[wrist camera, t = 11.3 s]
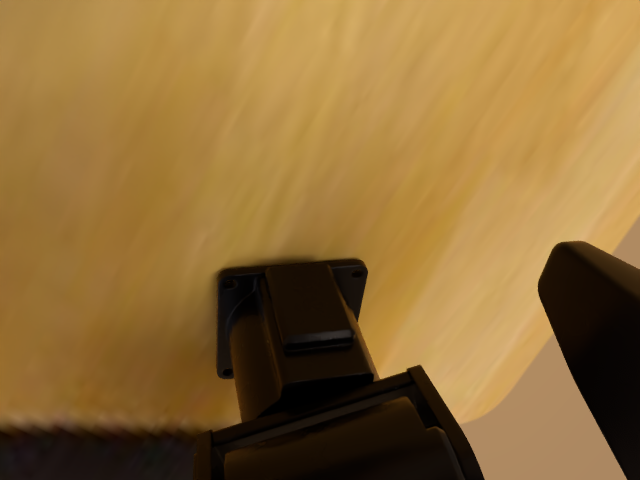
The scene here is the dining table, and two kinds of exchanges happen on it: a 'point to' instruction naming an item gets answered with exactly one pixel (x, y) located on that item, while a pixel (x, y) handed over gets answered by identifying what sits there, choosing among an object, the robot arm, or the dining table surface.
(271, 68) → the dining table surface
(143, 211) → the dining table surface
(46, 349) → the dining table surface
